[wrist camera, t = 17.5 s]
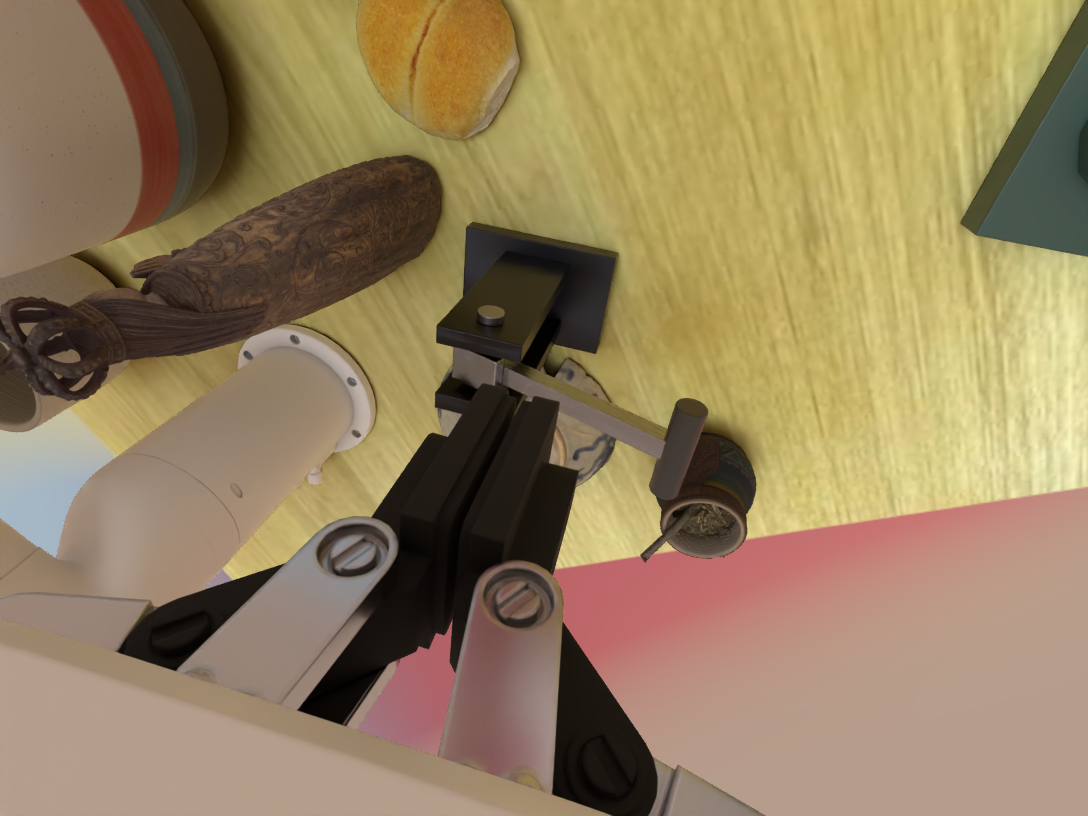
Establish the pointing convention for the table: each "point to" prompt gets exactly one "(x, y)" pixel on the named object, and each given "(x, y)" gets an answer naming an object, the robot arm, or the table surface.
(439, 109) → the bread roll
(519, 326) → the lever bracket
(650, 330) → the table surface
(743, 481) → the mate gourd
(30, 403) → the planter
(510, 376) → the lever
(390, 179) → the statue
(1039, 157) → the block
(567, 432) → the decorative bowl
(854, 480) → the table surface
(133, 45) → the vase
